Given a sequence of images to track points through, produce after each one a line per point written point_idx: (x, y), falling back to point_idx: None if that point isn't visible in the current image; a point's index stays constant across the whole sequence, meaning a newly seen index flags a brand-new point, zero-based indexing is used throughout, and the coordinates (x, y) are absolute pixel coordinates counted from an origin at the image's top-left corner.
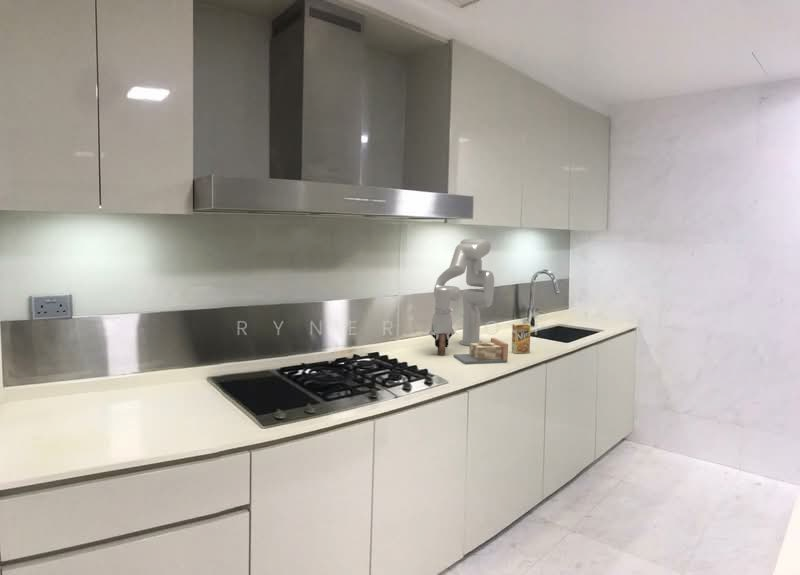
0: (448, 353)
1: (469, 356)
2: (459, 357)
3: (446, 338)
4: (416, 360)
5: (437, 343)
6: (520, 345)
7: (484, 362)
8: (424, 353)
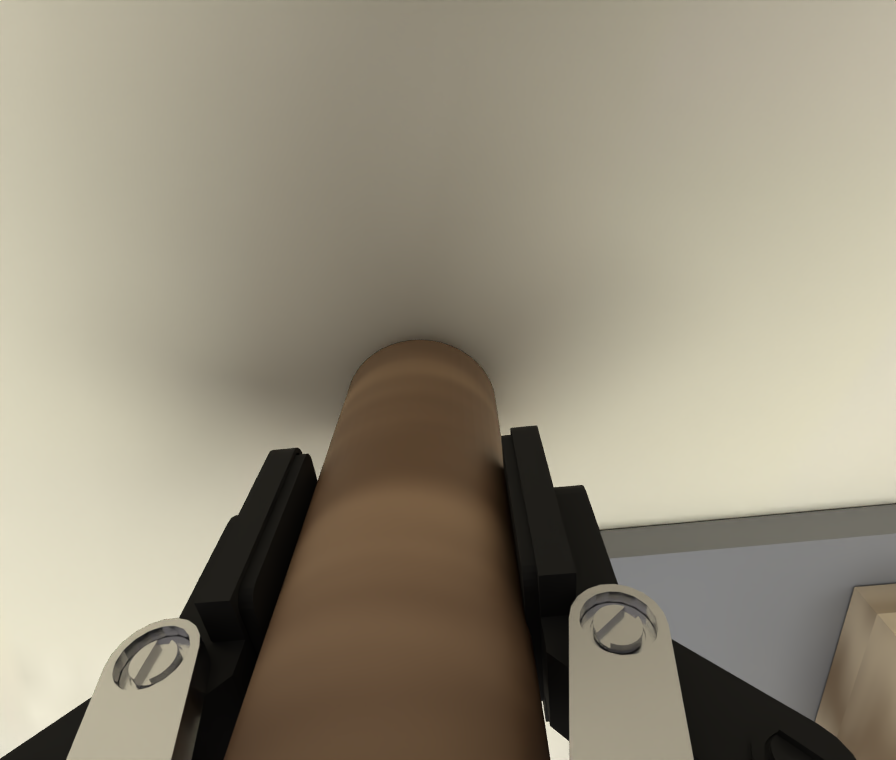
0: (591, 293)
1: (788, 668)
2: None
3: (559, 719)
4: (27, 682)
5: None
6: None
7: None
8: (87, 277)
